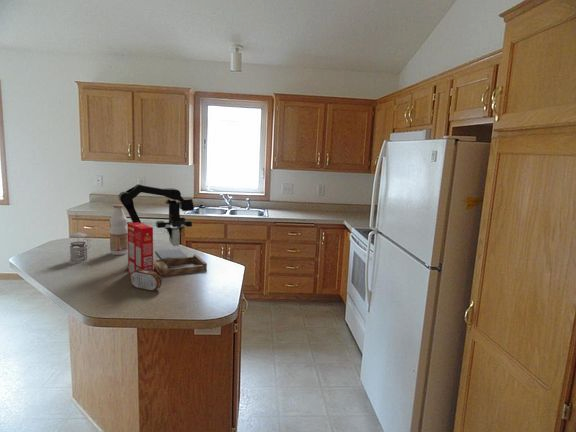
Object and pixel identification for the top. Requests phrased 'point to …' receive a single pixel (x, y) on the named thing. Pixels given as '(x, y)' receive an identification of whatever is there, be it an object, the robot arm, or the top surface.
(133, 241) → the food packaging
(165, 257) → the mat
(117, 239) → the fruit juice
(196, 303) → the top surface
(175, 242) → the panel
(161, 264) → the offcut stack
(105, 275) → the top surface
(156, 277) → the tin
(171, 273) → the brown rectangular shallow frame
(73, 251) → the french press
